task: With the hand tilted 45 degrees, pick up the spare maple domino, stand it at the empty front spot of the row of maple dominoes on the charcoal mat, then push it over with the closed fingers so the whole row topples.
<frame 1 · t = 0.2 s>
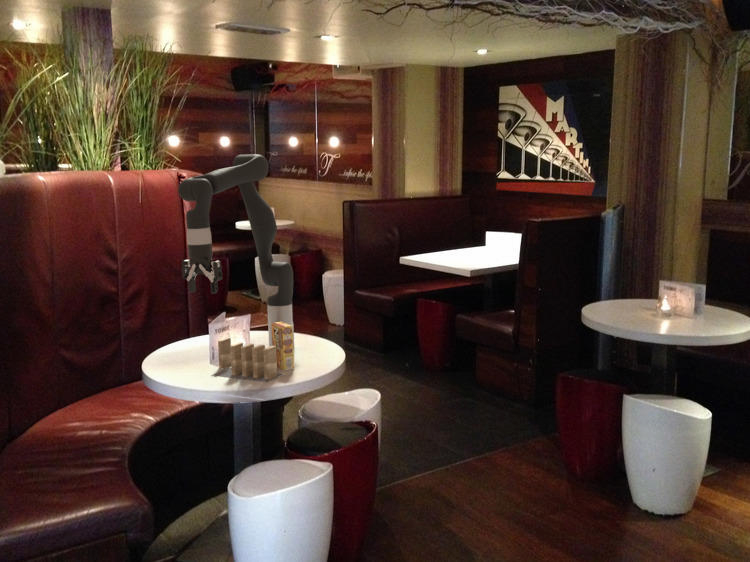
hand: (203, 292, 229), 29 cm above the table, tool pointing down, fingers open, 8 cm apart
candy box: (283, 368, 247), on the table
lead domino: (225, 367, 248), on the table
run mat: (247, 375, 238), on the table
domino 4: (259, 376, 236), resting on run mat
domino 5: (271, 377, 234), resting on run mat
domino 2: (237, 373, 239), resting on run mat
domino 3: (248, 374, 237), resting on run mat
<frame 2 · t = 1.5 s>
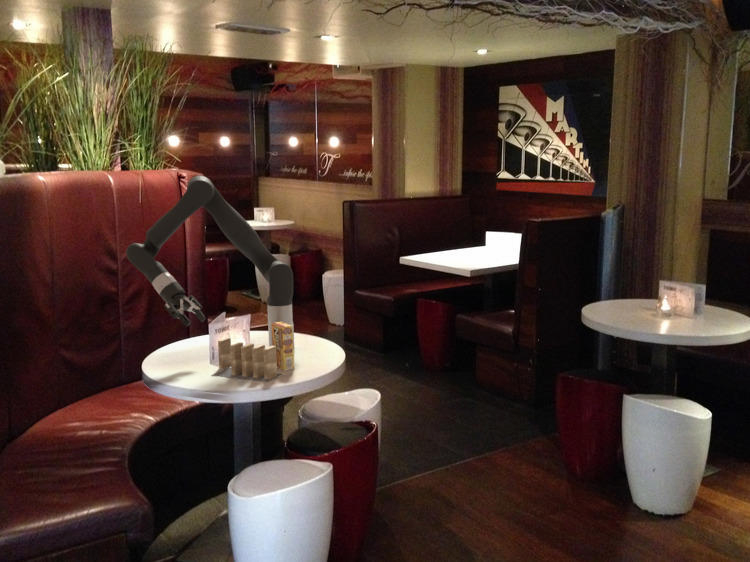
hand: (196, 322, 250), 15 cm above the table, tool tilted 45°, fingers open, 8 cm apart
nothing on the table moved.
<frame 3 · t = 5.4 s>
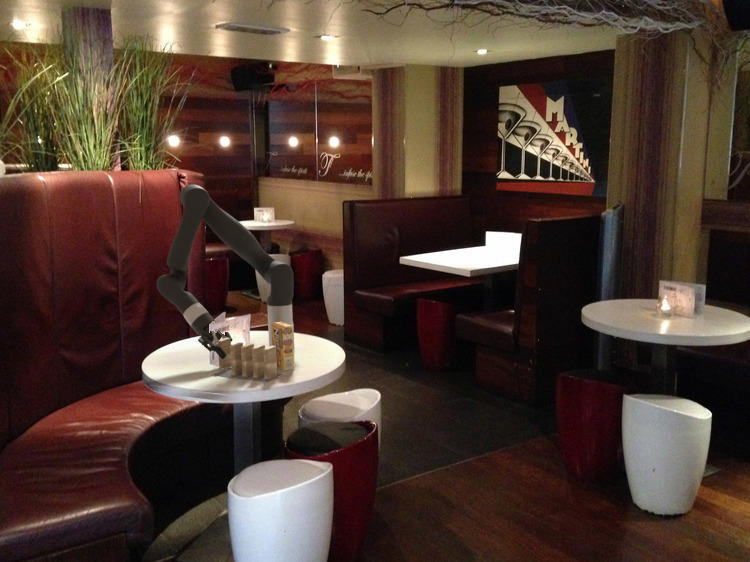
hand: (229, 355, 247), 4 cm above the table, tool tilted 45°, fingers closed on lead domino, 5 cm apart
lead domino: (225, 367, 248), on the table, touching gripper
everything else where it was.
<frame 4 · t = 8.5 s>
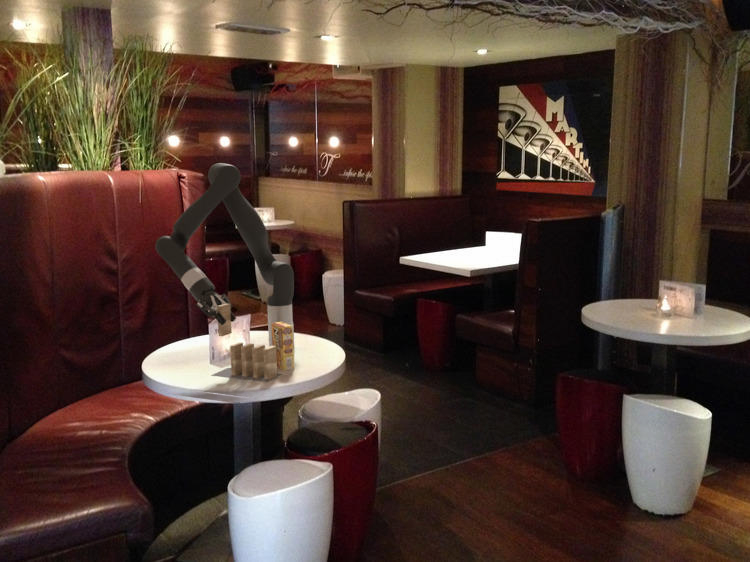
hand: (229, 321, 237), 18 cm above the table, tool tilted 45°, fingers closed on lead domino, 5 cm apart
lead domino: (225, 334, 239), point 13 cm above the table, touching gripper
everything else where it was.
when the fingers open (6 cm above the table, at t = 11.7 s): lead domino stays where it is, resting on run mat.
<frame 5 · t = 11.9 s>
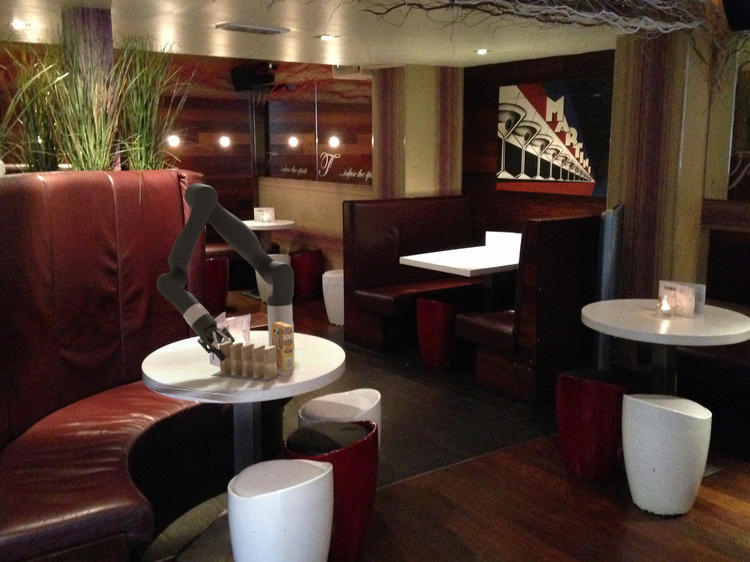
hand: (230, 356, 239), 6 cm above the table, tool tilted 45°, fingers open, 6 cm apart
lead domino: (227, 372, 241), resting on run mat
everything else where it was.
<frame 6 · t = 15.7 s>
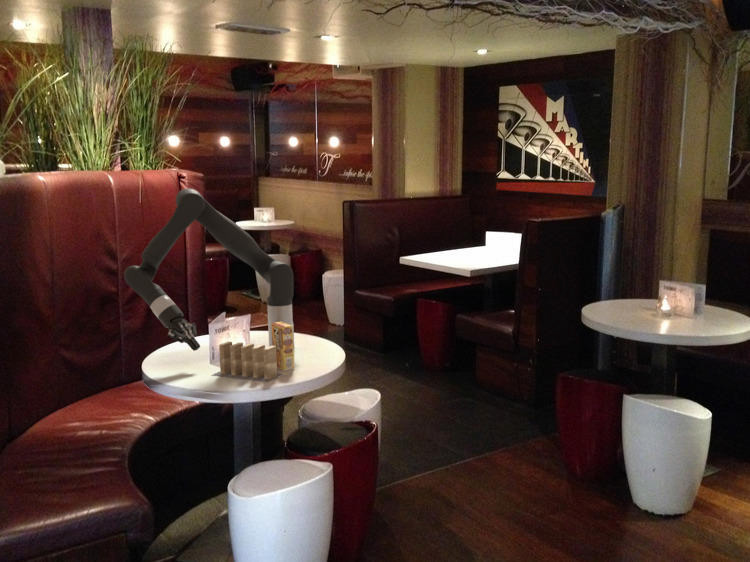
hand: (197, 348, 245), 7 cm above the table, tool tilted 45°, fingers closed
nothing on the table moved.
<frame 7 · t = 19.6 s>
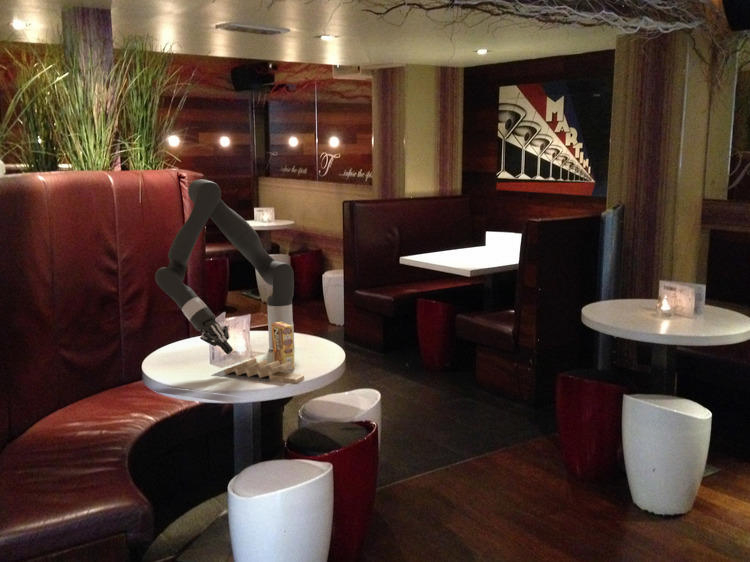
hand: (230, 352, 239), 7 cm above the table, tool tilted 45°, fingers closed
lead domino: (229, 370, 240), point 1 cm above the table, tilted 69°, touching domino 2, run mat
domino 4: (262, 374, 235), point 1 cm above the table, tilted 68°, touching domino 3, domino 5
domino 5: (273, 375, 233), point 1 cm above the table, tilted 93°, touching domino 4, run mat
domino 2: (240, 371, 239), point 1 cm above the table, tilted 68°, touching domino 3, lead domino, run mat
domino 3: (251, 372, 237), point 1 cm above the table, tilted 68°, touching domino 2, domino 4, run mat
everything else where it was.
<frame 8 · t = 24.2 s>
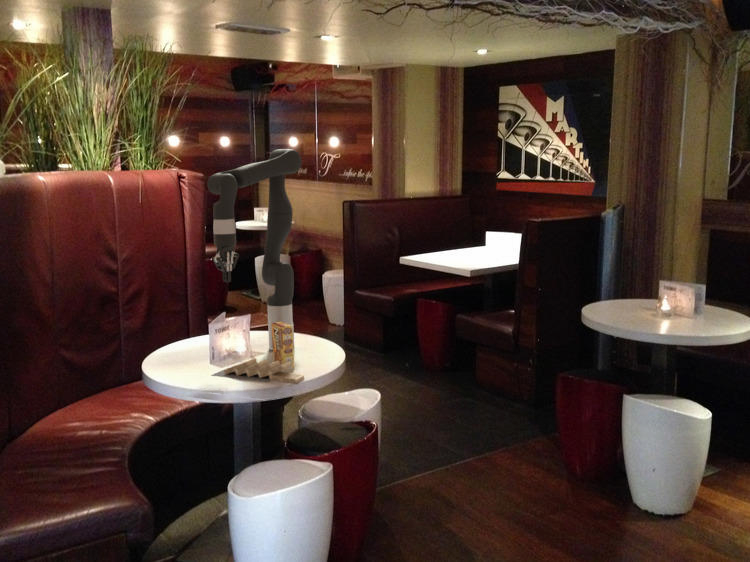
hand: (227, 281, 250), 29 cm above the table, tool pointing down, fingers closed
nothing on the table moved.
at the end: domino 5 tilted 93°; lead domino tilted 69°; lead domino inside the target area (1.2 cm from its centre), point 1.1 cm above the table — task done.
